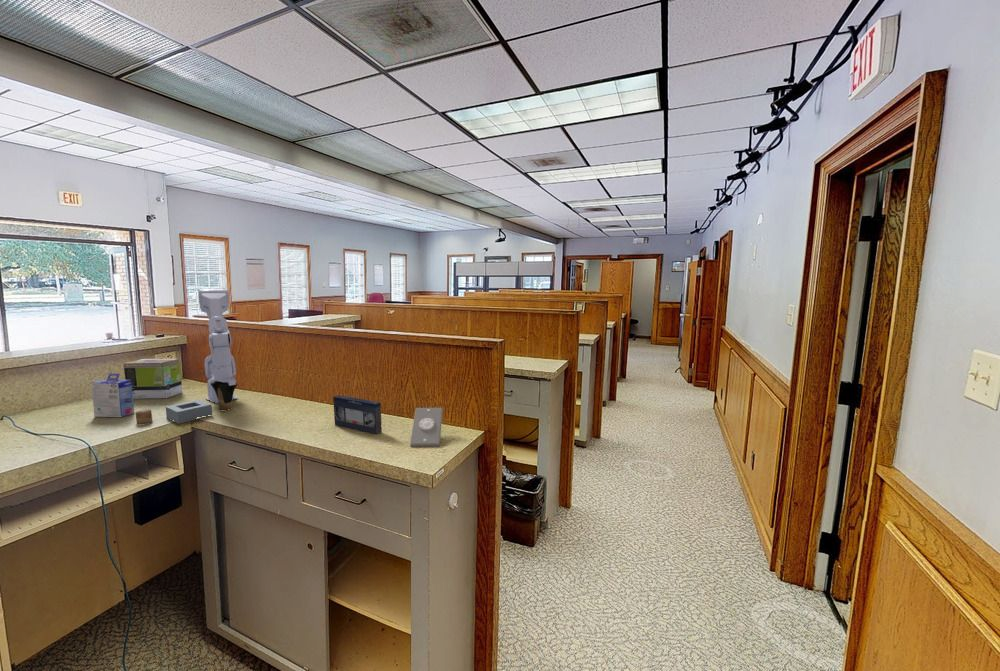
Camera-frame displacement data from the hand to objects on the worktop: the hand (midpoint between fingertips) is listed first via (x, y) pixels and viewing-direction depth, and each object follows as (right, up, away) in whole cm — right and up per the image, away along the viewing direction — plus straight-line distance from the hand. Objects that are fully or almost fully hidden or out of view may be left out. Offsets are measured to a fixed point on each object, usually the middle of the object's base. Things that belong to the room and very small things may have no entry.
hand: (225, 401), depth 153 cm
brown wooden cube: (-17, -5, -14) cm, 23 cm away
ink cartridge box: (-34, -4, -7) cm, 35 cm away
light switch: (+79, -8, -25) cm, 83 cm away
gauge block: (-7, -4, -8) cm, 11 cm away
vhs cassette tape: (+55, -6, -18) cm, 58 cm away
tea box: (-39, -1, +17) cm, 43 cm away
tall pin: (0, -3, 0) cm, 3 cm away
